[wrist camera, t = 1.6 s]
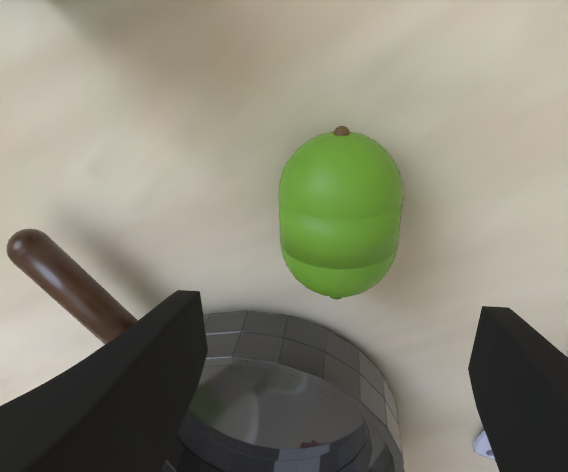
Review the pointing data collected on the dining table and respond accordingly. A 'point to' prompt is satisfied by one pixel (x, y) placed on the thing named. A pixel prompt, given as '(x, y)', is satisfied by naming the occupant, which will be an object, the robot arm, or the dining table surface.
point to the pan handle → (68, 284)
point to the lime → (340, 213)
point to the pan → (285, 402)
